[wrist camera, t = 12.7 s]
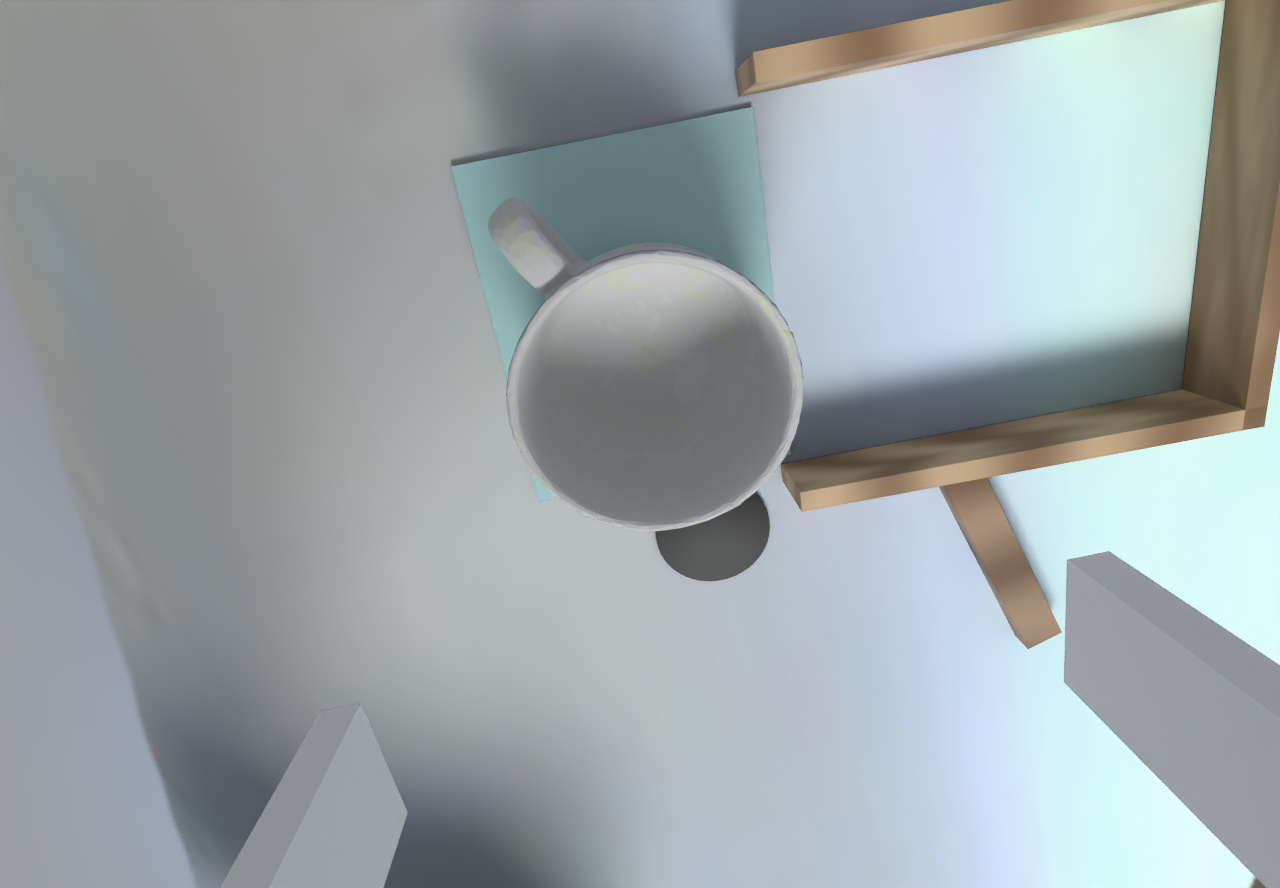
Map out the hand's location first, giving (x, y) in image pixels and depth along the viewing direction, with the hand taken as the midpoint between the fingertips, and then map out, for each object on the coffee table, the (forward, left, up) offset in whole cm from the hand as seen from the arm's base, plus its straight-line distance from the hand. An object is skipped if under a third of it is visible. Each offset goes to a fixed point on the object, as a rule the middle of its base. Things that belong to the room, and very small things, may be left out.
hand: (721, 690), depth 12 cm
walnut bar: (+17, -13, -21) cm, 30 cm away
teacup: (-1, +3, -21) cm, 21 cm away
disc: (+2, -8, -21) cm, 23 cm away
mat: (0, +3, -21) cm, 21 cm away
